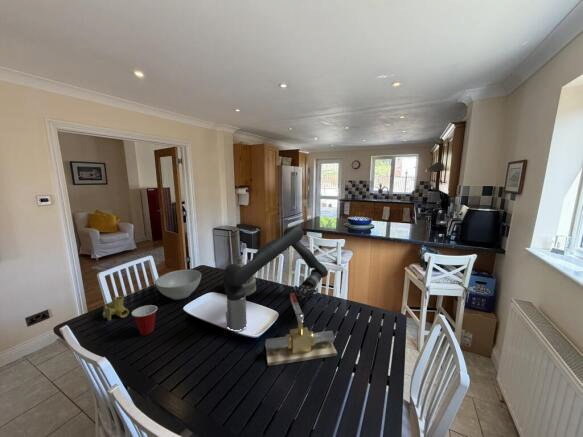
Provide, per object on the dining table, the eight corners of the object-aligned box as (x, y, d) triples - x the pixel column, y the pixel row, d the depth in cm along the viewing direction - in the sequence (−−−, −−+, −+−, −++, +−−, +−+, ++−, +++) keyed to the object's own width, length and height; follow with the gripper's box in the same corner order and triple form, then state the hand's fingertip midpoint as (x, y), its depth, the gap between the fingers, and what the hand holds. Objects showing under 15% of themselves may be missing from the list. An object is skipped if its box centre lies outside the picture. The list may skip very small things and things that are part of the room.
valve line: (267, 358, 97) (266, 331, 95) (265, 346, 104) (265, 320, 102) (334, 348, 103) (335, 322, 101) (329, 337, 110) (330, 313, 107)
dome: (233, 263, 140) (218, 254, 154) (235, 301, 144) (220, 289, 159) (261, 255, 153) (245, 248, 168) (262, 290, 158) (246, 280, 172)
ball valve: (117, 310, 136) (97, 316, 127) (118, 293, 135) (98, 299, 127) (129, 317, 131) (109, 325, 122) (131, 300, 130) (110, 306, 121)
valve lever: (304, 323, 100) (304, 315, 99) (297, 323, 100) (298, 316, 99) (294, 298, 120) (294, 292, 119) (289, 299, 119) (289, 293, 119)
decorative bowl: (188, 282, 170) (187, 266, 168) (210, 292, 155) (209, 275, 153) (149, 297, 149) (147, 279, 147) (170, 311, 134) (168, 291, 131)
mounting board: (267, 365, 95) (267, 360, 95) (265, 345, 107) (265, 339, 106) (336, 355, 101) (337, 349, 100) (327, 336, 112) (327, 331, 112)
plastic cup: (164, 326, 120) (162, 305, 118) (147, 340, 110) (144, 317, 108) (147, 323, 123) (145, 302, 121) (129, 336, 113) (125, 314, 110)
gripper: (299, 275, 135) (287, 288, 120) (321, 279, 130) (311, 293, 114) (299, 287, 136) (287, 301, 121) (321, 291, 131) (311, 307, 116)
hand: (299, 297), depth 118 cm, fingers closed
